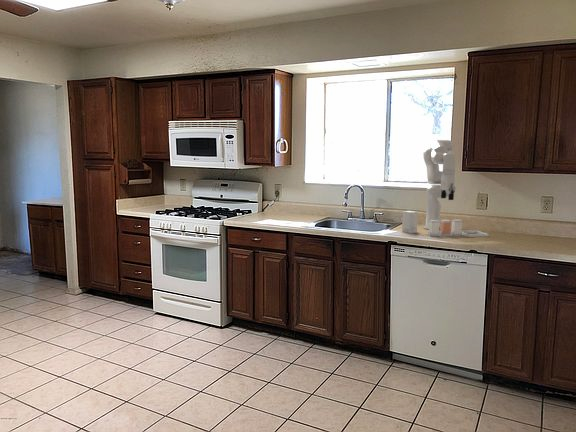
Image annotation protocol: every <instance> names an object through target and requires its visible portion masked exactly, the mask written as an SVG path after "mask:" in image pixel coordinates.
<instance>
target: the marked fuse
mask: <svg viewBox="0 0 576 432" xmlns="http://www.w3.org/2000/svg"><path fill="white" fill-rule="evenodd" d="M451 227H452V220H450V219H440V230H439V231H441V232H442V236H450V232H451Z"/></svg>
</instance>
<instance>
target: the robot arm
mask: <svg viewBox="0 0 576 432" xmlns="http://www.w3.org/2000/svg"><path fill="white" fill-rule="evenodd" d="M453 150H454V143H453V142H452V141H451V139H450V140H448V139H447V140H446V139H438V140H437V139H435V140H434V141H432V142H431V145H430V146H428V147H426V148H424V150H423V153H422V154H423V161H424V164H425V166H426V173H427V174H426V175H427V182H428V184H430V185H428V186H427V188H426V190H425V191H426V192H425V193H426V215H425V216H426V218H425V225H424V226H423V229H425V230H426V229H427V230H429V220H438V221H439V231H440V223H441V207H442V206H441V203H440V201H439V199H448V201H454V197H455V191H456V186H455V184H456V183H455V180H456V179H455V178H456V177H455V175H456V158H457V156H456V154H455V153H452V152H453ZM440 165H442V170H441V171H440Z"/></svg>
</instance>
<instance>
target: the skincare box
mask: <svg viewBox="0 0 576 432" xmlns="http://www.w3.org/2000/svg"><path fill="white" fill-rule="evenodd" d="M401 223H402V232H404V233H409V234H414V233H415V234H416V233H418V211H414V210H405V211H404V210H403V211H402V222H401Z"/></svg>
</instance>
